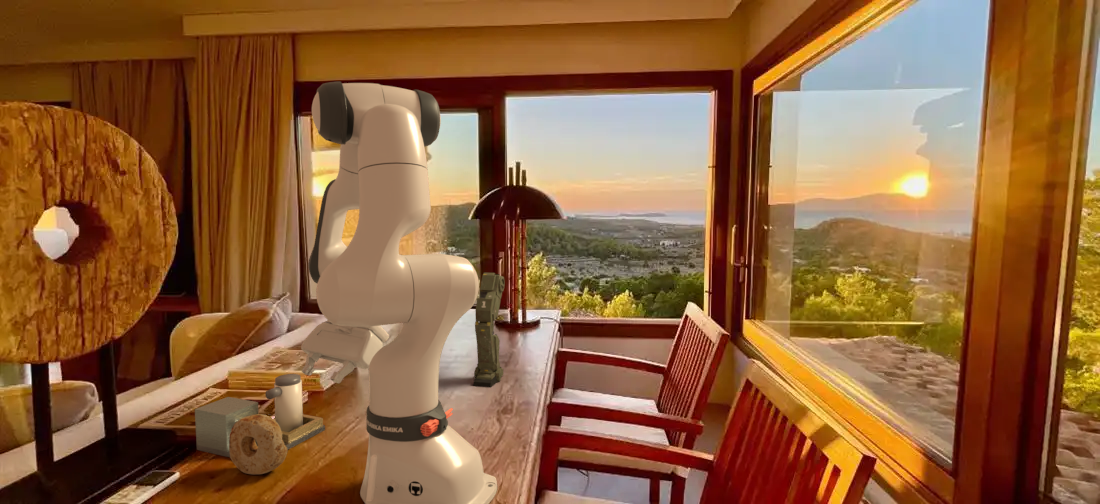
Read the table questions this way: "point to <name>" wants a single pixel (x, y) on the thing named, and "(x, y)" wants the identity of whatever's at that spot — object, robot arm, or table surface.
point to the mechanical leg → (488, 331)
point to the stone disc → (246, 450)
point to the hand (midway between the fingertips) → (319, 377)
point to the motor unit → (226, 412)
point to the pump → (287, 401)
